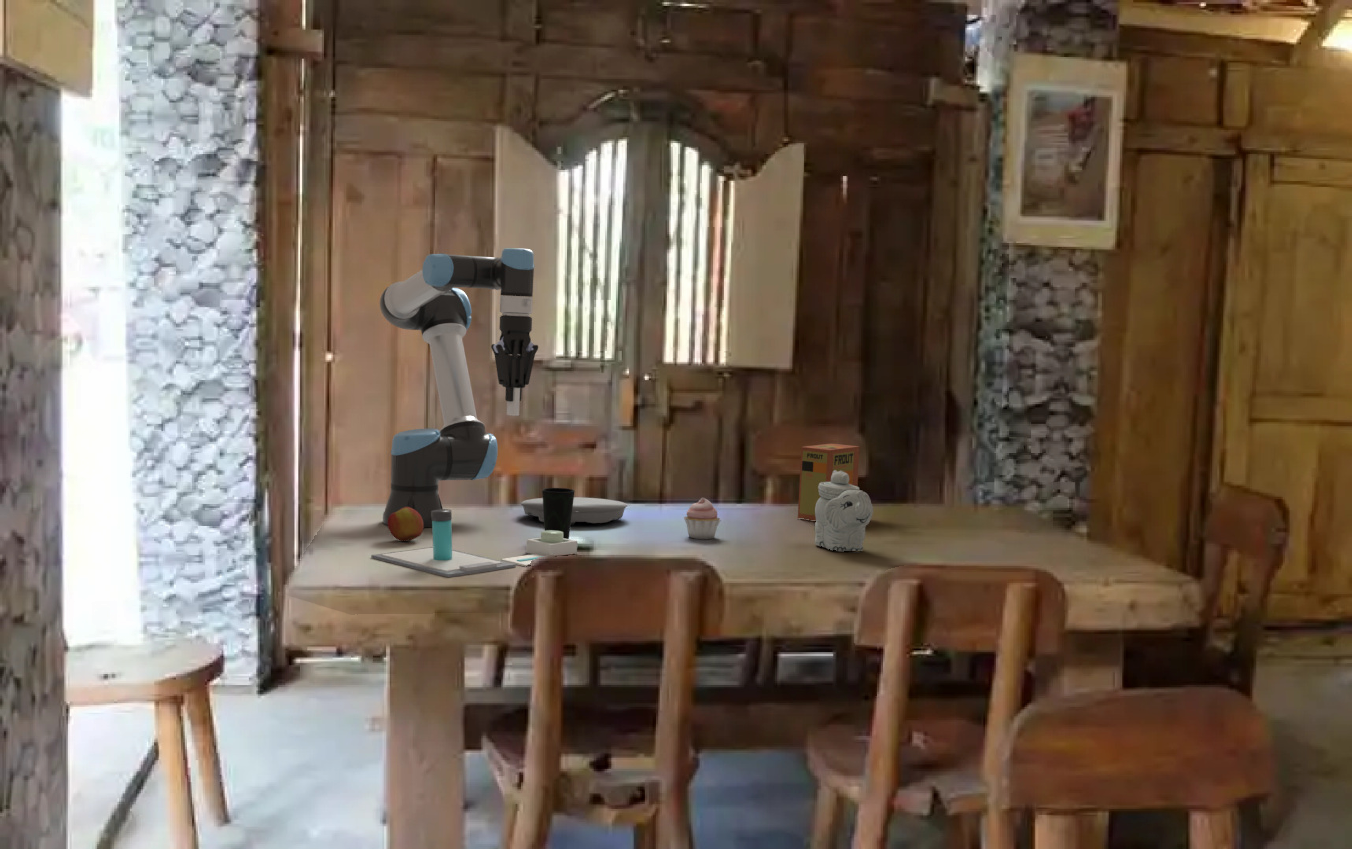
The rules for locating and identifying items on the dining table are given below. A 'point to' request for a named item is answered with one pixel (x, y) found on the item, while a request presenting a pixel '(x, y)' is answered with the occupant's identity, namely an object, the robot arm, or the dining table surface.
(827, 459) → the box
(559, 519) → the cup
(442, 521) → the teal bottle
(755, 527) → the dining table surface
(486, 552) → the dining table surface
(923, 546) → the dining table surface
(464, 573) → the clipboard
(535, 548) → the button box
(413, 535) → the apple
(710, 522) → the cupcake
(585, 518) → the flat disc
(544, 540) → the button
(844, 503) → the white elephant jar
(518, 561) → the card
